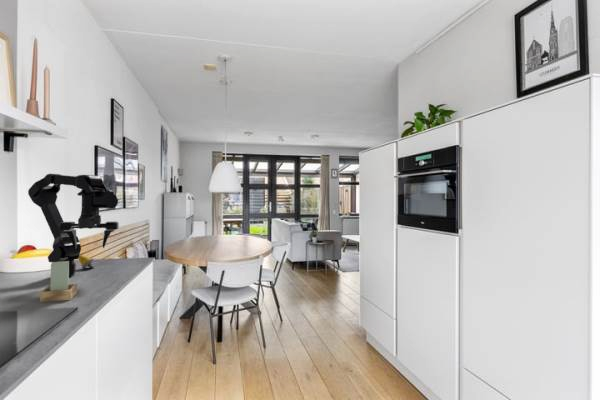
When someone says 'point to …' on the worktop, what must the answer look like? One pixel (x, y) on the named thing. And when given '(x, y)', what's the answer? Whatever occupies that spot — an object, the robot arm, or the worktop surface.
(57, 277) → the post
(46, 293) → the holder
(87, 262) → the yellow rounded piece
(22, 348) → the worktop surface
